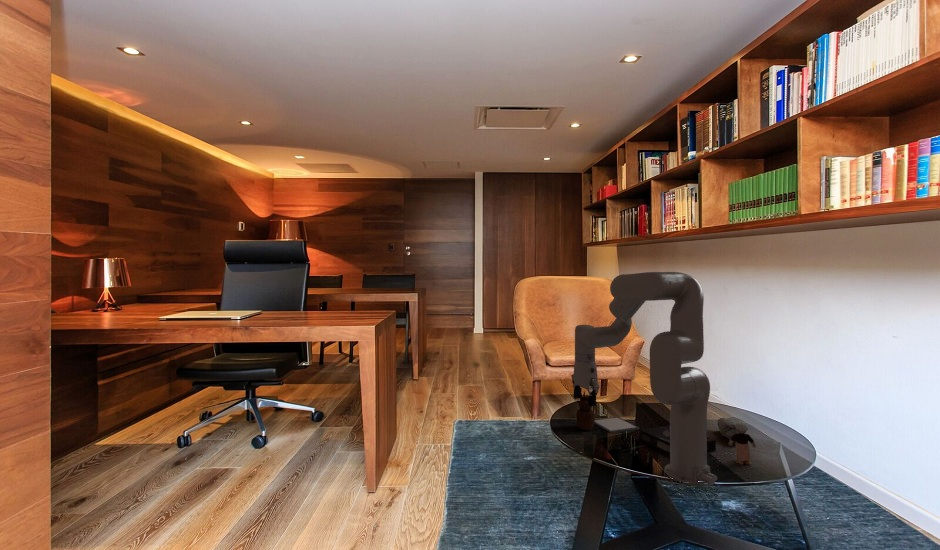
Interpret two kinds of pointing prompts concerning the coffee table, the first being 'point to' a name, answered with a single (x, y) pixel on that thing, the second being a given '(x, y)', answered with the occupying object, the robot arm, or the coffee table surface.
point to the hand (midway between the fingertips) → (584, 401)
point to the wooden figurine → (585, 414)
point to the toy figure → (742, 443)
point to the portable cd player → (666, 439)
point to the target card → (615, 425)
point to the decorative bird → (727, 428)
